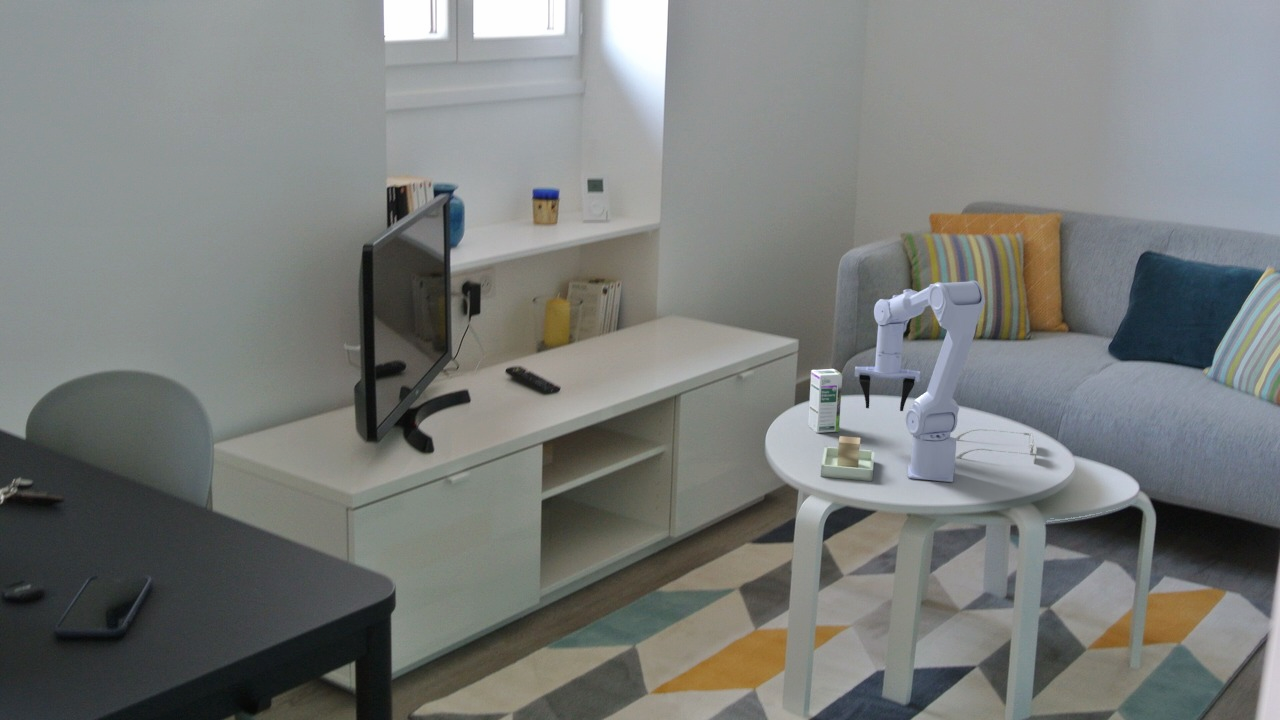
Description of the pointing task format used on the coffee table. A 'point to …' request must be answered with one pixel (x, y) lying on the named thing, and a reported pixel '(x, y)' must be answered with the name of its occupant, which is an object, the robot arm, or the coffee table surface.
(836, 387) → the syrup box
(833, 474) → the serving tray
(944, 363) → the robot arm
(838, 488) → the coffee table surface
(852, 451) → the maple block
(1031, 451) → the eyeglasses
